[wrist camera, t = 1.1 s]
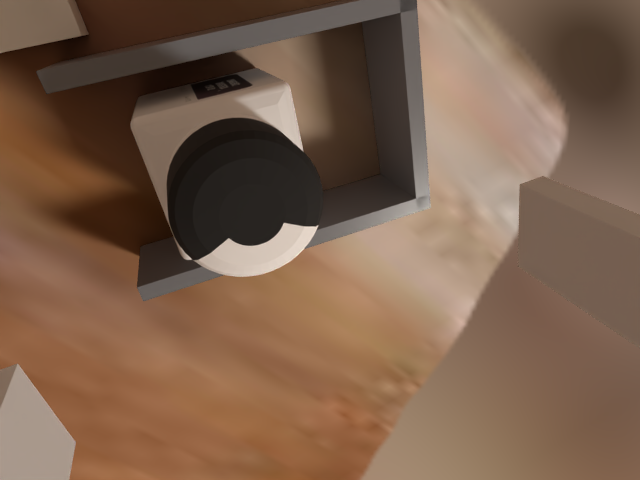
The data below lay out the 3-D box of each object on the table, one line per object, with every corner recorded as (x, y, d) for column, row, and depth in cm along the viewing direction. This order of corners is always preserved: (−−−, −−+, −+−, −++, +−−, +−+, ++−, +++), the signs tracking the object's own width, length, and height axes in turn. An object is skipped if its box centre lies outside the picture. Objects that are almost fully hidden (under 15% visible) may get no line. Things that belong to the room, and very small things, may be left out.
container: (134, 96, 27) (117, 149, 16) (259, 66, 28) (325, 95, 17) (178, 211, 30) (189, 321, 19) (286, 180, 32) (354, 264, 21)
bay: (145, 258, 31) (143, 301, 26) (59, 61, 25) (35, 71, 20) (393, 182, 35) (430, 207, 30) (373, -7, 28) (415, -13, 24)
